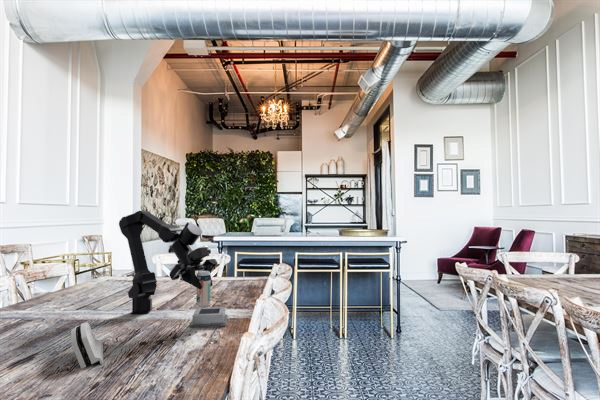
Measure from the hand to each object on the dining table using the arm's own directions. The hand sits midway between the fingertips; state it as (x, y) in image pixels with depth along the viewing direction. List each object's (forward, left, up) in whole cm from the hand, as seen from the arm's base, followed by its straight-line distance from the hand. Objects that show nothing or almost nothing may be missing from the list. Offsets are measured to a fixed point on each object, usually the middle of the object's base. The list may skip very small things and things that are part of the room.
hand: (206, 287), depth 133 cm
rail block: (+1, +3, -13) cm, 14 cm away
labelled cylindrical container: (-1, +1, -7) cm, 7 cm away
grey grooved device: (-29, -25, -14) cm, 41 cm away
